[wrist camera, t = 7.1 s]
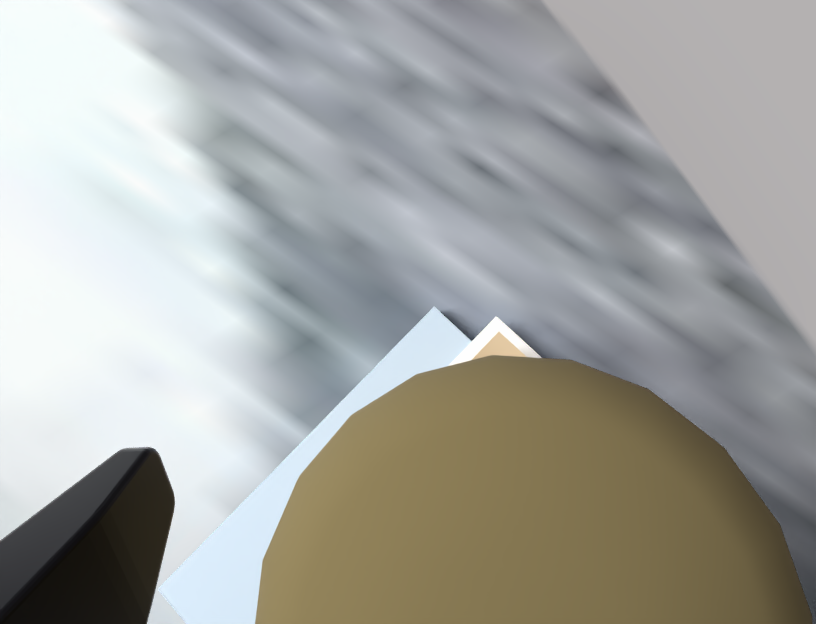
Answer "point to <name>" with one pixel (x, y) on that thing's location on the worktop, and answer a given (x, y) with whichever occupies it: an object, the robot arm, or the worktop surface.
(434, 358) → the pale blue tile
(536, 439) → the cork
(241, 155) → the worktop surface
